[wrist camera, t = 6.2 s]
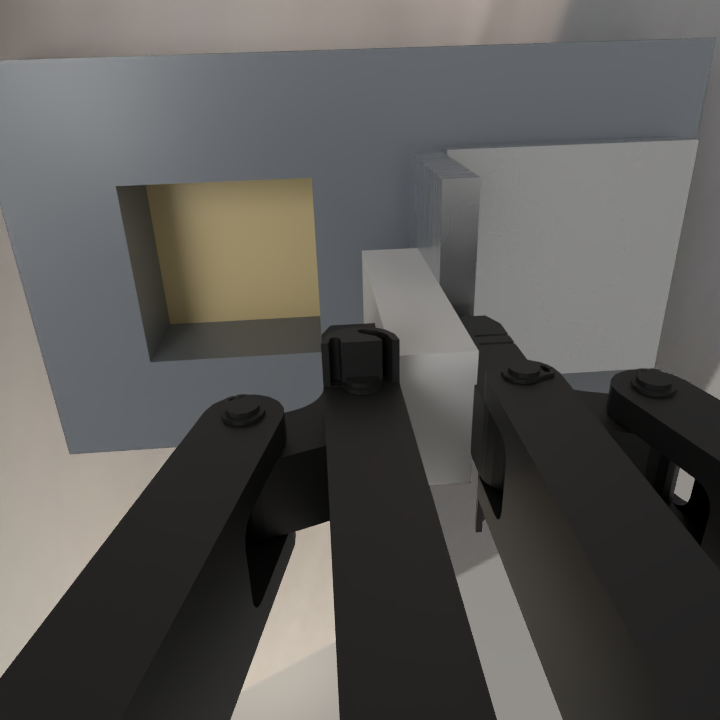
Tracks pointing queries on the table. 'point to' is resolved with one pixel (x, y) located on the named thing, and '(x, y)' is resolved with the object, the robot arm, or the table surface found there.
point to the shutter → (557, 241)
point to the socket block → (264, 201)
